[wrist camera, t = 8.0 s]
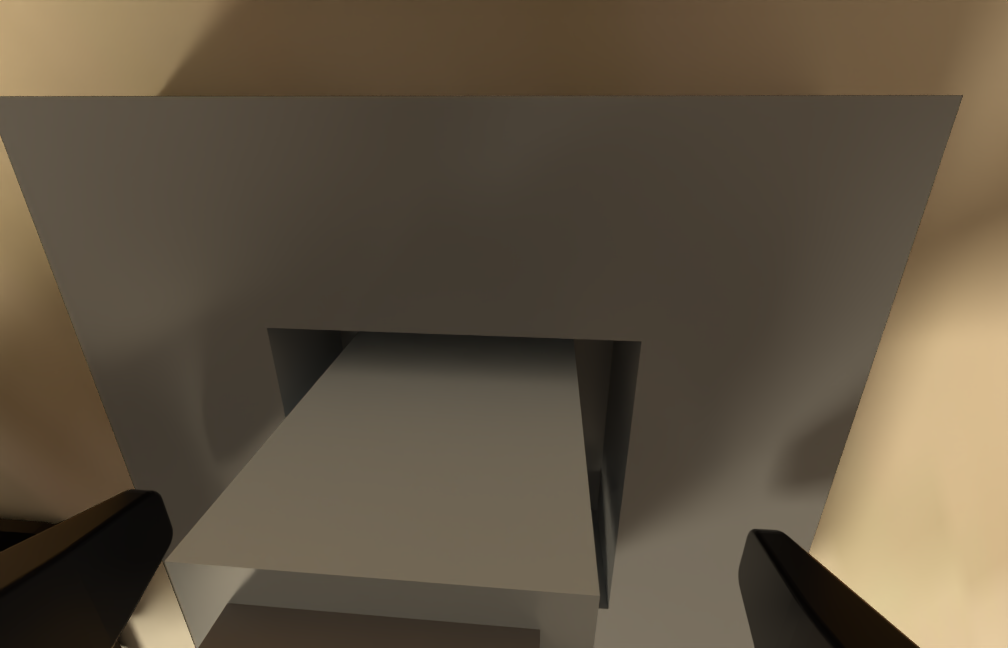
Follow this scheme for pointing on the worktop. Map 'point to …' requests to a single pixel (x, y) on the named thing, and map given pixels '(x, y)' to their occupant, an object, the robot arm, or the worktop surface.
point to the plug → (407, 507)
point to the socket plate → (501, 287)
